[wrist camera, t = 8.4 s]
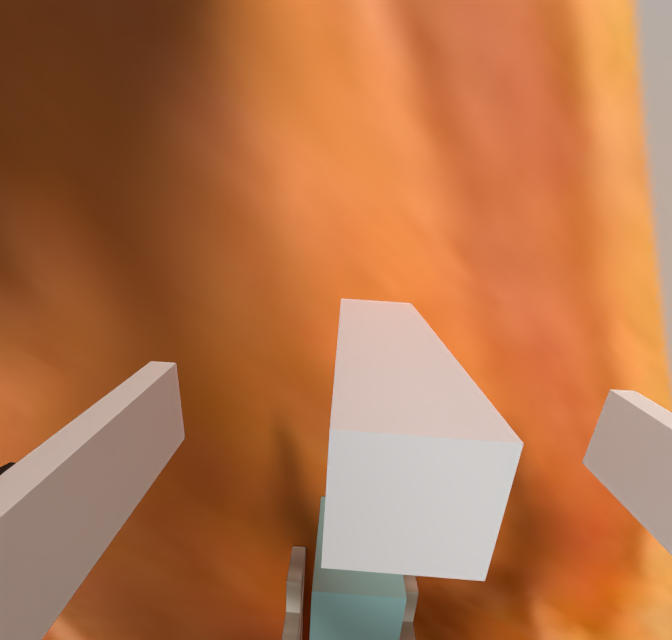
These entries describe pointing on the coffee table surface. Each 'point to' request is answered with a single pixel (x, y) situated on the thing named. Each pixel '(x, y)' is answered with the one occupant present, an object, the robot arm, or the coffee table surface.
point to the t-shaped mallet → (403, 473)
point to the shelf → (296, 599)
